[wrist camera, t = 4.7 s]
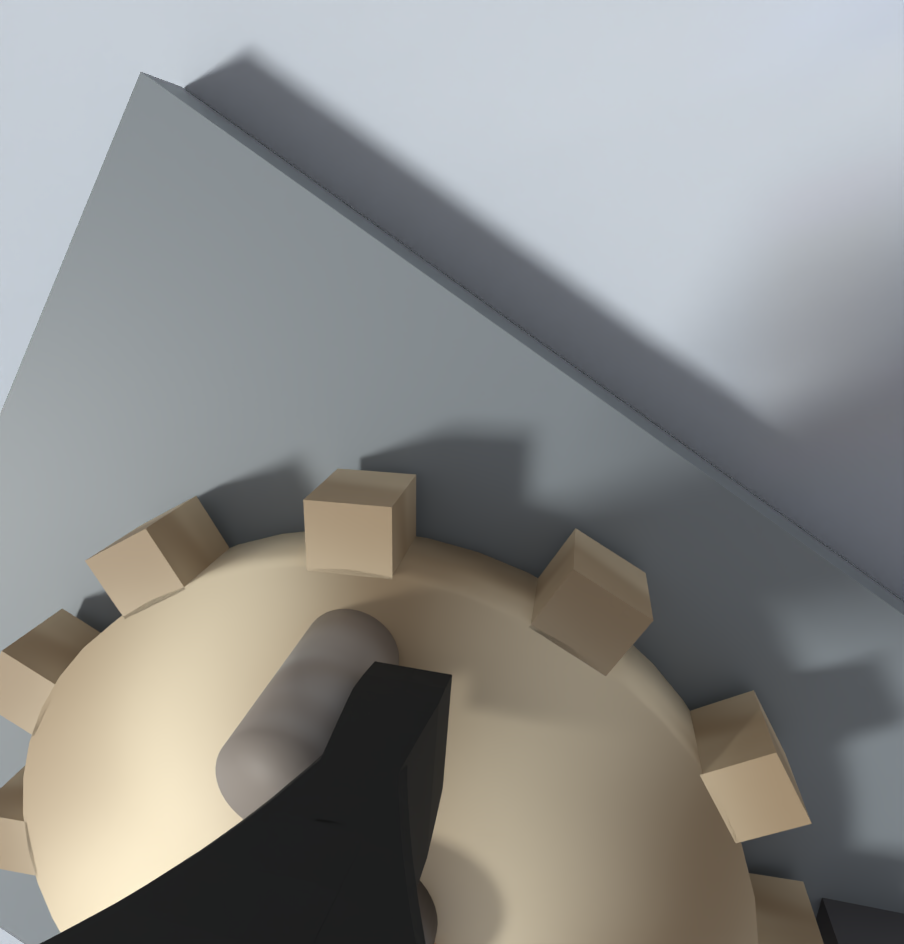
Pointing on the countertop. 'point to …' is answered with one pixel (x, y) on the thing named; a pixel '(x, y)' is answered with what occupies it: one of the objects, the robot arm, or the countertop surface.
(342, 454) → the base board
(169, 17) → the countertop surface
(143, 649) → the sprocket
